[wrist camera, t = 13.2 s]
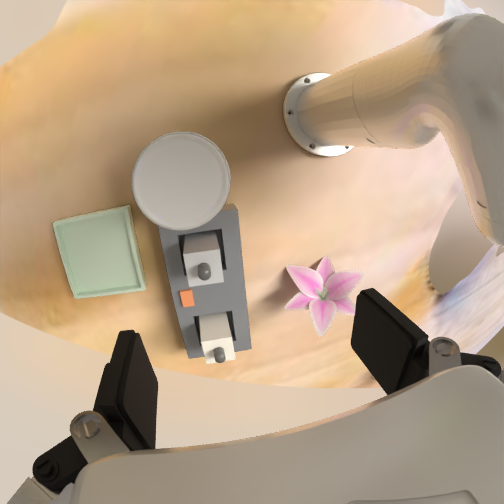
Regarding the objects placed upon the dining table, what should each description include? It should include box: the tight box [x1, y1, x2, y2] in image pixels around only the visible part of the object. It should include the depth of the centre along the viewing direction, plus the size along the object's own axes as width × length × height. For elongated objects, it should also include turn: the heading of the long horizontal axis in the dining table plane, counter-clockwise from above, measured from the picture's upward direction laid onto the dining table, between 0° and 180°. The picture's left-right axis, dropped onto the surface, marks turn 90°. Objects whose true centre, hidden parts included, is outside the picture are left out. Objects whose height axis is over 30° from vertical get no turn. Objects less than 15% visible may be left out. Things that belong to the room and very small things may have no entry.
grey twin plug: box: [183, 230, 224, 287], centre depth 33 cm, size 4×4×10 cm
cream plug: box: [199, 312, 236, 364], centre depth 38 cm, size 4×4×10 cm
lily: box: [284, 256, 364, 337], centre depth 41 cm, size 12×12×10 cm
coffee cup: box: [131, 131, 231, 230], centre depth 29 cm, size 9×9×12 cm
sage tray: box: [53, 205, 147, 299], centre depth 35 cm, size 12×12×2 cm
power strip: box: [158, 204, 252, 359], centre depth 39 cm, size 22×10×4 cm, turn 5°
